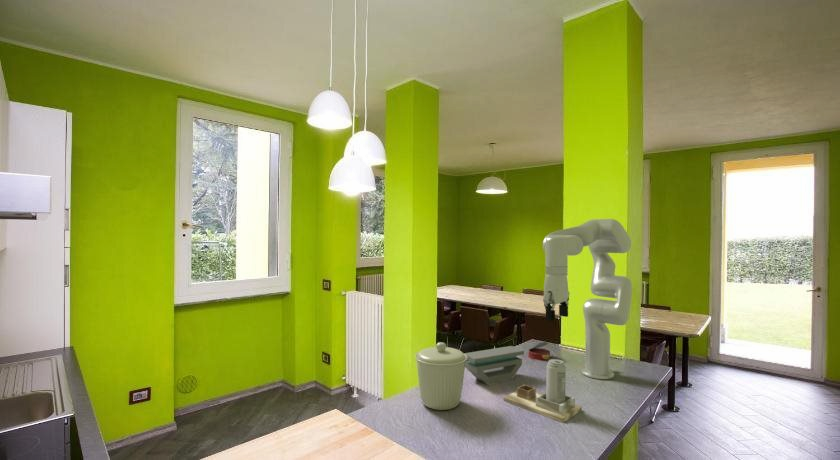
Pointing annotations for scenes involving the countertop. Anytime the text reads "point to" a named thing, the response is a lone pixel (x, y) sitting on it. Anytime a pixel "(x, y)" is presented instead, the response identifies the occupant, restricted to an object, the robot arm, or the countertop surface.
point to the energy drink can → (555, 381)
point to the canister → (440, 376)
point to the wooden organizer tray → (543, 403)
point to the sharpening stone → (494, 364)
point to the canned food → (539, 352)
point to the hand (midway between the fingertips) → (557, 318)
